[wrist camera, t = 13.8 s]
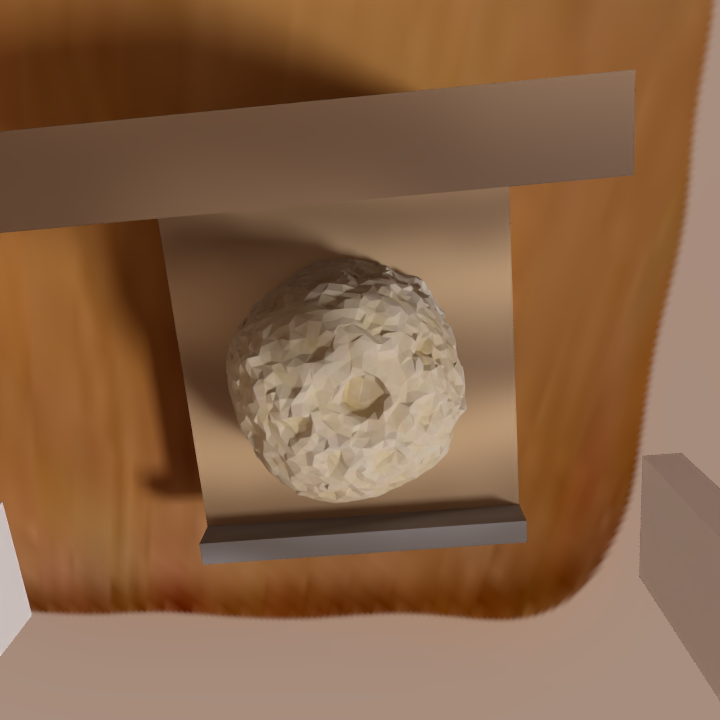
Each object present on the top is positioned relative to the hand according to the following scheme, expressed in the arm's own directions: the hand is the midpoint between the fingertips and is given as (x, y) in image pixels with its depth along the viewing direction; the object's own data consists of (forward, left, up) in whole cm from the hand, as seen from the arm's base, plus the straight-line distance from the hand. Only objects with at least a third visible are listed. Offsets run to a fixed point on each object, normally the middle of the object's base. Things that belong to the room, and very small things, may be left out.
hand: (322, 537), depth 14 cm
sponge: (0, 0, -15) cm, 15 cm away
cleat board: (0, 0, -18) cm, 18 cm away
